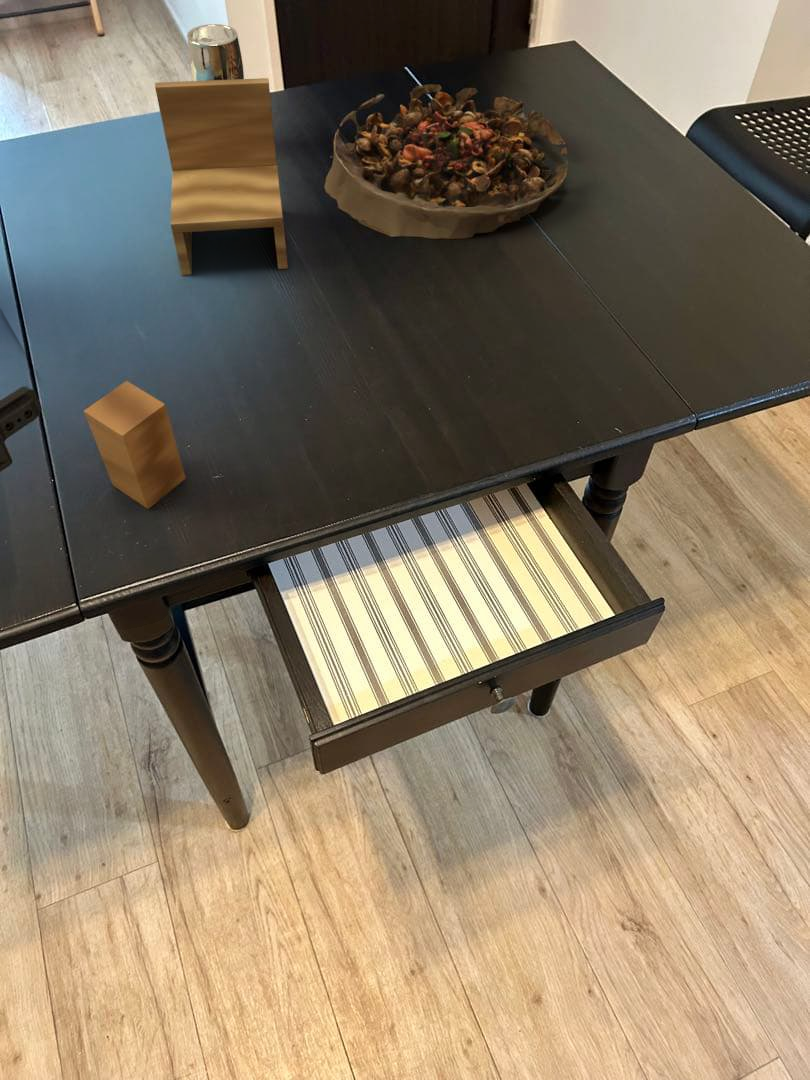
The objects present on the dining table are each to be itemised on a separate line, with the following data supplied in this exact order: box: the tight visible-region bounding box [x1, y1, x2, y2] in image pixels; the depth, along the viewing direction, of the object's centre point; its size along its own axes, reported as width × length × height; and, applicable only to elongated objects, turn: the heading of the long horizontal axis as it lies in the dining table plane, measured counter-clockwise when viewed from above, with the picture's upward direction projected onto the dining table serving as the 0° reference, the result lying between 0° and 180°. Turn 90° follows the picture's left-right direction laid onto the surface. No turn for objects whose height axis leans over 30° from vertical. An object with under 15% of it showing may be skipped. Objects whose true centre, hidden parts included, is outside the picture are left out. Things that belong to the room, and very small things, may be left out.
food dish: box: [323, 84, 569, 240], centre depth 115 cm, size 35×33×8 cm
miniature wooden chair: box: [154, 77, 289, 276], centre depth 99 cm, size 13×13×17 cm
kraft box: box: [83, 380, 187, 510], centre depth 77 cm, size 5×5×10 cm
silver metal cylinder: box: [186, 23, 245, 81], centre depth 114 cm, size 7×7×15 cm
